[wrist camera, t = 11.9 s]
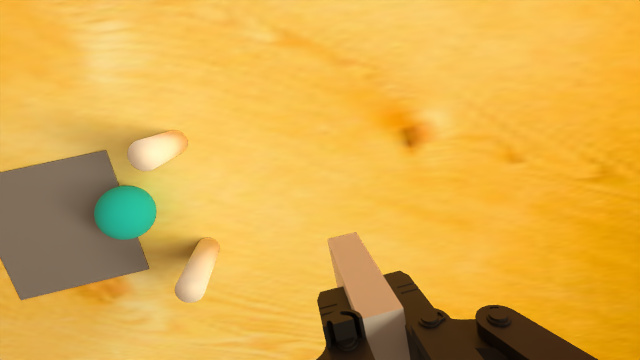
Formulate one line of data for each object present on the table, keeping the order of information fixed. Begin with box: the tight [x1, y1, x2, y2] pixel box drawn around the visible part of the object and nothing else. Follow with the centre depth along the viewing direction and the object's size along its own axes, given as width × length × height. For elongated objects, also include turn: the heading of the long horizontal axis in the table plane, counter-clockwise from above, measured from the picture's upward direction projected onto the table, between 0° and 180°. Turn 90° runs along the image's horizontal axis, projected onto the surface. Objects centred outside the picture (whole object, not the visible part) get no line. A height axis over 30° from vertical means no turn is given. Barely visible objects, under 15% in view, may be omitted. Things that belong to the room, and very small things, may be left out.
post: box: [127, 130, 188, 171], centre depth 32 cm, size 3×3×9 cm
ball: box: [94, 186, 156, 240], centre depth 35 cm, size 6×6×6 cm
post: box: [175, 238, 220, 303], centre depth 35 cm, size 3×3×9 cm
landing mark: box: [0, 150, 149, 300], centre depth 37 cm, size 14×14×1 cm
